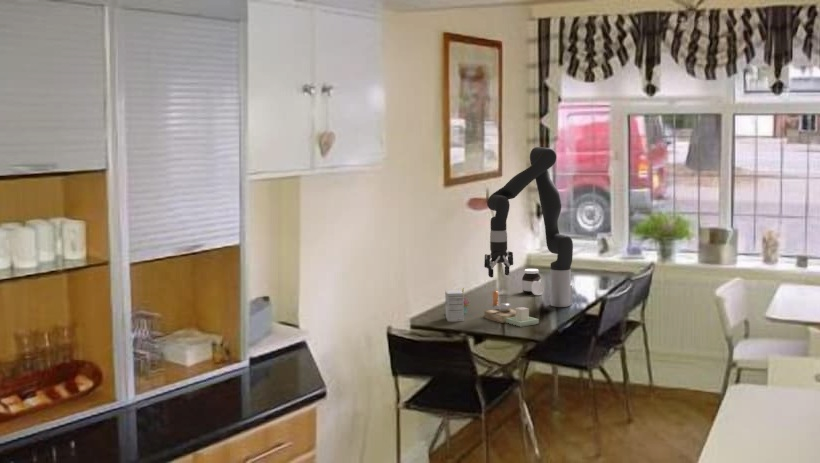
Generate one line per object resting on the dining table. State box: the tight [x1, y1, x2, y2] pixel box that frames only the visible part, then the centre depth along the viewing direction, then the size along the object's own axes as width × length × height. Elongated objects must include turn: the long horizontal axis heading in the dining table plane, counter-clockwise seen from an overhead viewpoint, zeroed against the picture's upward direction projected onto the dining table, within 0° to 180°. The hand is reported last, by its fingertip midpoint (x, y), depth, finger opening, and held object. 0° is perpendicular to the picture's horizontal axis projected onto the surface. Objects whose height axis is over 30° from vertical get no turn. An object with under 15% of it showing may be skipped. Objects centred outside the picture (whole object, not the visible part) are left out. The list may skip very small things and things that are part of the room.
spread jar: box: [521, 268, 545, 296], centre depth 485 cm, size 12×11×12 cm
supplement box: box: [444, 289, 465, 323], centre depth 432 cm, size 7×7×13 cm
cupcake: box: [461, 287, 470, 315], centre depth 444 cm, size 9×8×12 cm
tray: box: [505, 316, 540, 328], centre depth 423 cm, size 10×10×2 cm
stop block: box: [515, 306, 530, 322], centre depth 423 cm, size 4×4×6 cm
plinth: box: [483, 307, 516, 324], centre depth 433 cm, size 13×13×3 cm
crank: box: [492, 290, 512, 312], centre depth 436 cm, size 13×5×7 cm, turn 22°
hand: (499, 276), depth 436 cm, fingers open, 8 cm apart
